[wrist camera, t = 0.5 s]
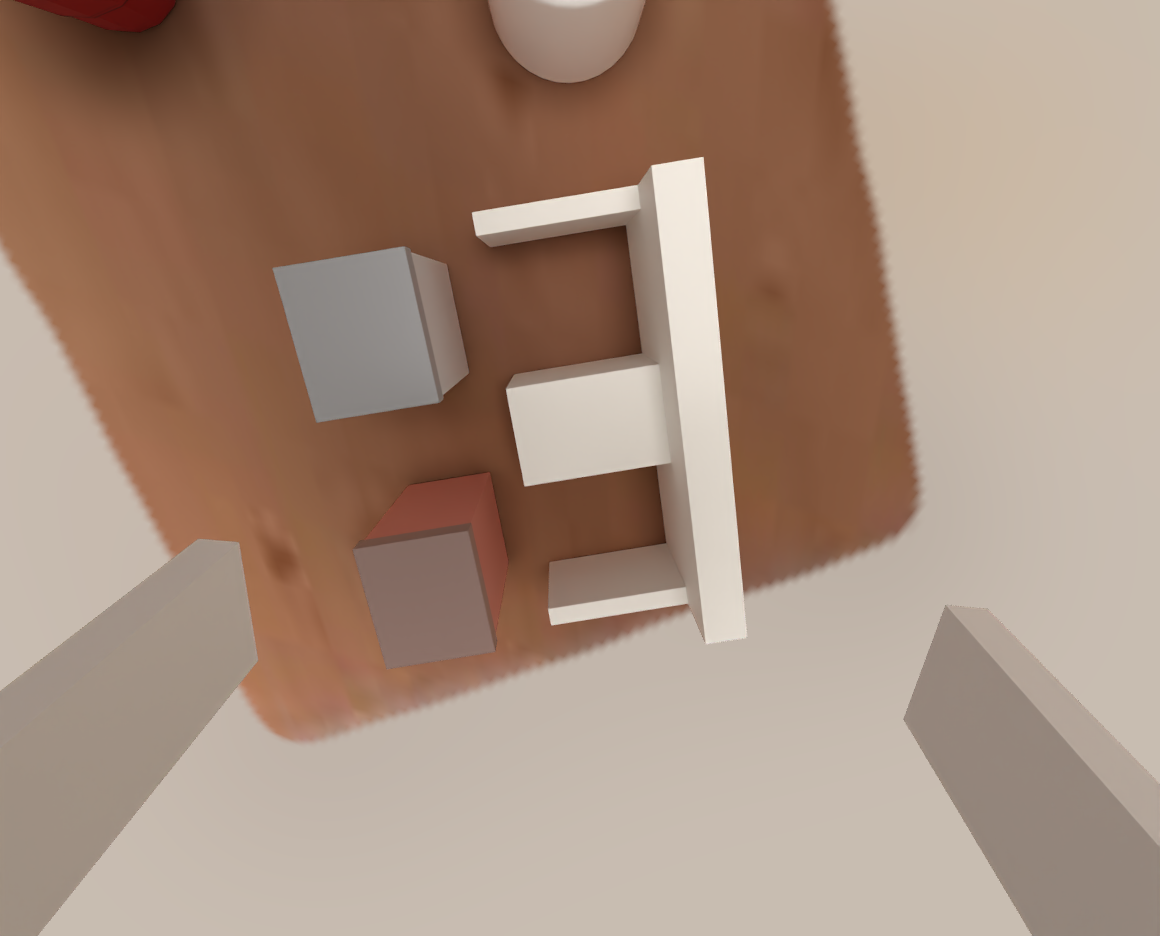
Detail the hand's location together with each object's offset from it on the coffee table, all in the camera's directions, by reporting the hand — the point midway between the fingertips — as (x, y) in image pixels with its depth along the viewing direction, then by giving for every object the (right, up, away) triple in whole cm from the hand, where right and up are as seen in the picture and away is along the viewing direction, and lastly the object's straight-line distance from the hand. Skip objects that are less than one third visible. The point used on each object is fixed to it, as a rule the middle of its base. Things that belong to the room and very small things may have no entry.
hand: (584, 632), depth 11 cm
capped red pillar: (-8, 0, +26) cm, 27 cm away
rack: (+1, +7, +24) cm, 25 cm away
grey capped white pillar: (-9, +11, +22) cm, 27 cm away
